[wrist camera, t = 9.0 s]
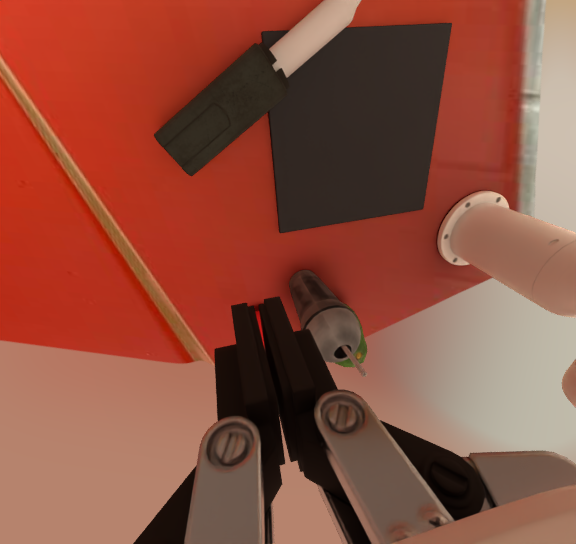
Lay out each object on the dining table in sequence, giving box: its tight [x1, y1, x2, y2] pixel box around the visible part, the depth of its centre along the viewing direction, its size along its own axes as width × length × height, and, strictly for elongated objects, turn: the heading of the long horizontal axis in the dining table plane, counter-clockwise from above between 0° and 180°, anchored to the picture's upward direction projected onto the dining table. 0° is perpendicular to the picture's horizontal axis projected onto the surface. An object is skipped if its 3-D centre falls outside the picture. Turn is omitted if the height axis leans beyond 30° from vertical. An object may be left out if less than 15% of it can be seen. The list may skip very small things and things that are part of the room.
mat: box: [261, 23, 452, 233], centre depth 39 cm, size 22×22×1 cm
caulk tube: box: [154, 0, 361, 176], centre depth 31 cm, size 5×5×25 cm
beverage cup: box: [289, 270, 367, 377], centre depth 39 cm, size 7×7×20 cm
